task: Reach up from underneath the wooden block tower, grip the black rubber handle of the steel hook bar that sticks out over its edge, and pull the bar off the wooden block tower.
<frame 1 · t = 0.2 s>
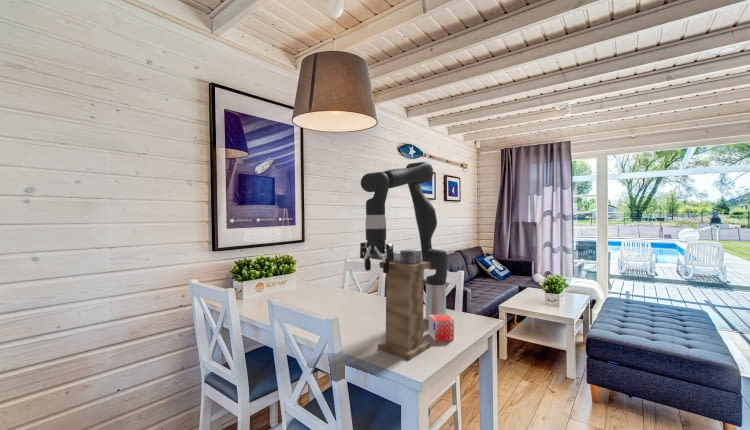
hand: (376, 271, 117), 29 cm above the table, tool pointing down, fingers open, 8 cm apart
puzzle cube: (440, 337, 131), on the table
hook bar: (394, 260, 122), point 32 cm above the table, touching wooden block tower
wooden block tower: (402, 347, 120), on the table
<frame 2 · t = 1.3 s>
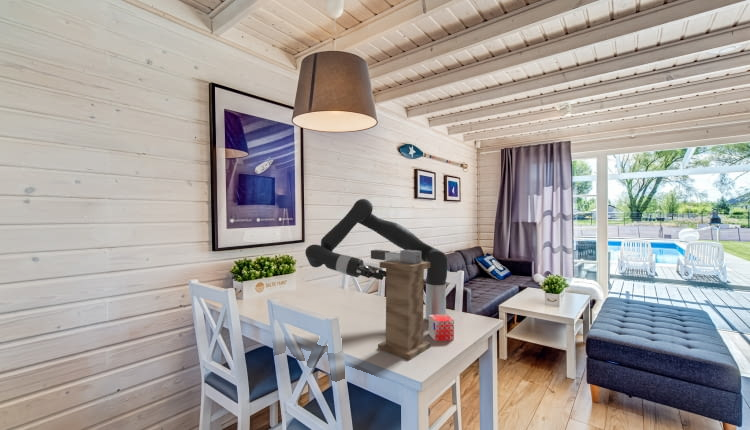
hand: (386, 276, 125), 25 cm above the table, tool horizontal, fingers open, 8 cm apart
nothing on the table moved.
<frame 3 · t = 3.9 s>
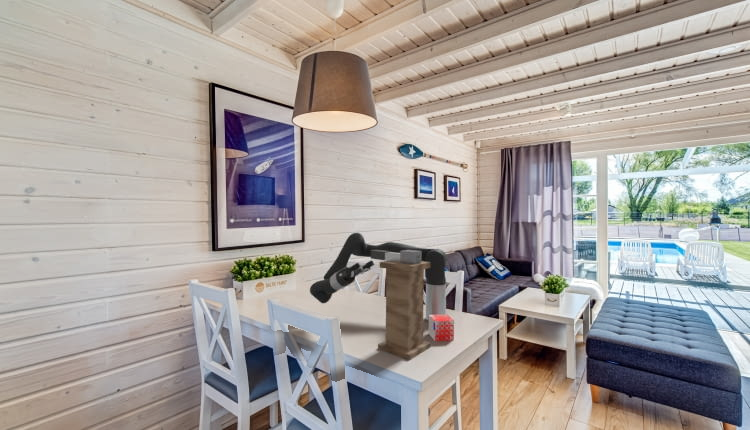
hand: (366, 263, 132), 29 cm above the table, tool pointing upward, fingers open, 8 cm apart
nothing on the table moved.
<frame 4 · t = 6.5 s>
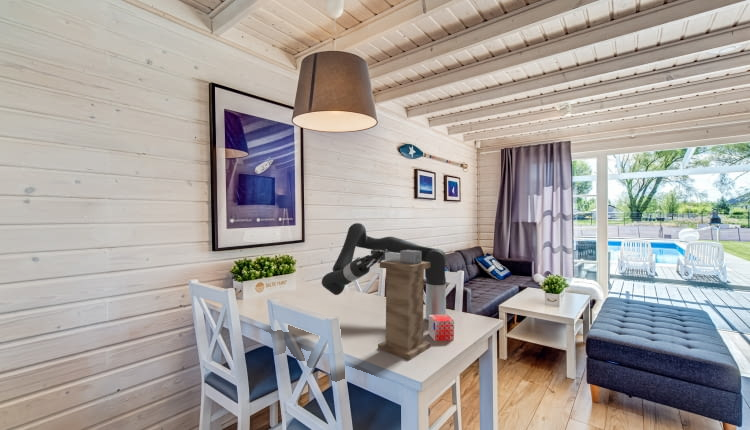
hand: (384, 252, 126), 35 cm above the table, tool pointing upward, fingers closed on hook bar, 3 cm apart
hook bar: (394, 260, 122), point 32 cm above the table, touching gripper, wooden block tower
everything else where it was.
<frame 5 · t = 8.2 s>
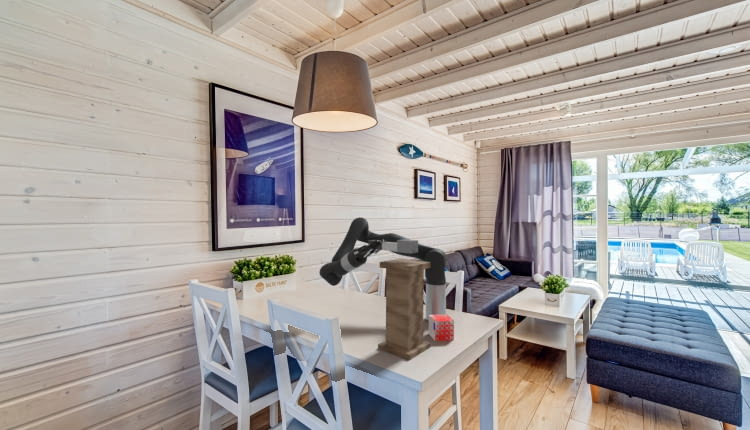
hand: (381, 242, 126), 39 cm above the table, tool pointing upward, fingers closed on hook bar, 3 cm apart
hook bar: (391, 250, 123), point 36 cm above the table, touching gripper
everything else where it was.
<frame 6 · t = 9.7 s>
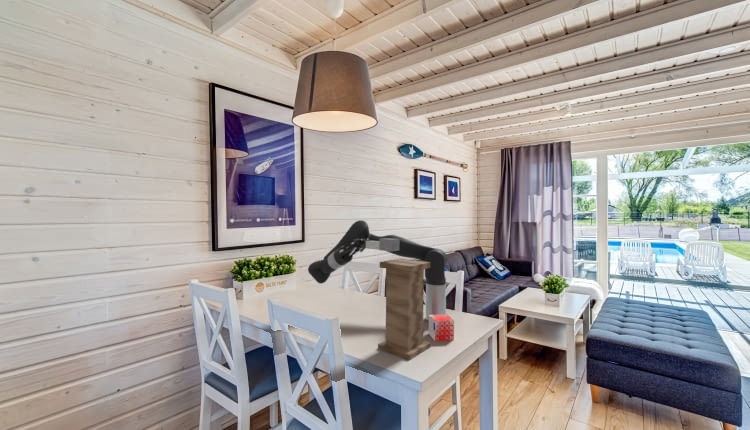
hand: (365, 240, 132), 39 cm above the table, tool pointing upward, fingers closed on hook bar, 3 cm apart
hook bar: (374, 248, 129), point 36 cm above the table, touching gripper
everything else where it was.
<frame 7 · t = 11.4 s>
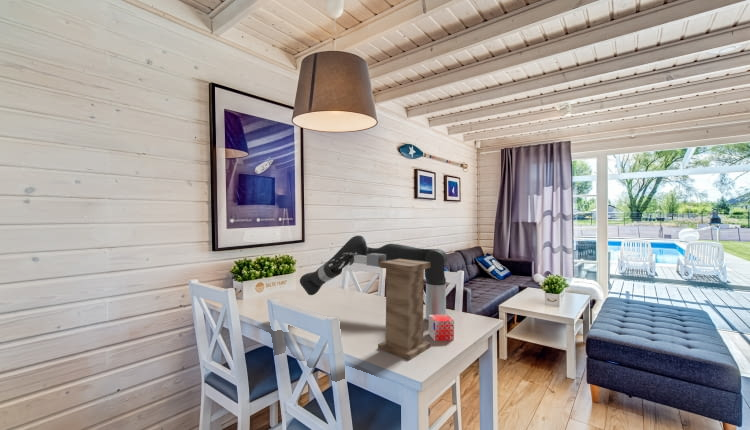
hand: (353, 255, 136), 32 cm above the table, tool pointing upward, fingers closed on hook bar, 3 cm apart
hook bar: (362, 263, 133), point 29 cm above the table, touching gripper
everything else where it was.
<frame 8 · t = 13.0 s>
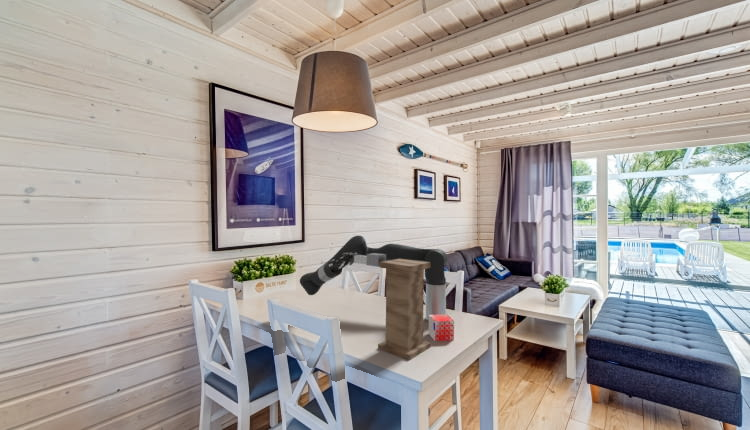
hand: (353, 255, 136), 32 cm above the table, tool pointing upward, fingers closed on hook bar, 3 cm apart
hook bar: (362, 263, 133), point 29 cm above the table, touching gripper
everything else where it was.
at the end: the gripper is holding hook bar; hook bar touching gripper; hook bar inside the target area (0.1 cm from its centre), point 29.4 cm above the table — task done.
